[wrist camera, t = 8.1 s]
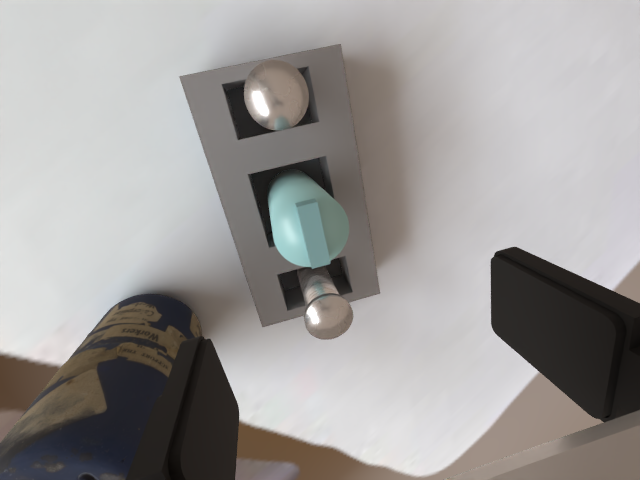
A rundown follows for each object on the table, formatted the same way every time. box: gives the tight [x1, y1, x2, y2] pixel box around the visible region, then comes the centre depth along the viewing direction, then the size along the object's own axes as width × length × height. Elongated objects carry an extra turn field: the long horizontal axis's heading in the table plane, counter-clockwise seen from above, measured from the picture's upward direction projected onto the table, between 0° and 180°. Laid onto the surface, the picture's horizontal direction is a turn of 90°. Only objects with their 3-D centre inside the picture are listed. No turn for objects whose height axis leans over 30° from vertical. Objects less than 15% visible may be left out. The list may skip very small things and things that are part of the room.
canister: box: [0, 294, 202, 480], centre depth 24 cm, size 10×10×18 cm
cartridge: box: [267, 169, 349, 269], centre depth 25 cm, size 5×5×13 cm
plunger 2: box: [297, 266, 353, 339], centre depth 28 cm, size 4×4×9 cm
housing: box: [180, 44, 380, 327], centre depth 29 cm, size 22×12×4 cm, turn 12°
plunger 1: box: [244, 60, 309, 130], centre depth 23 cm, size 4×4×9 cm
